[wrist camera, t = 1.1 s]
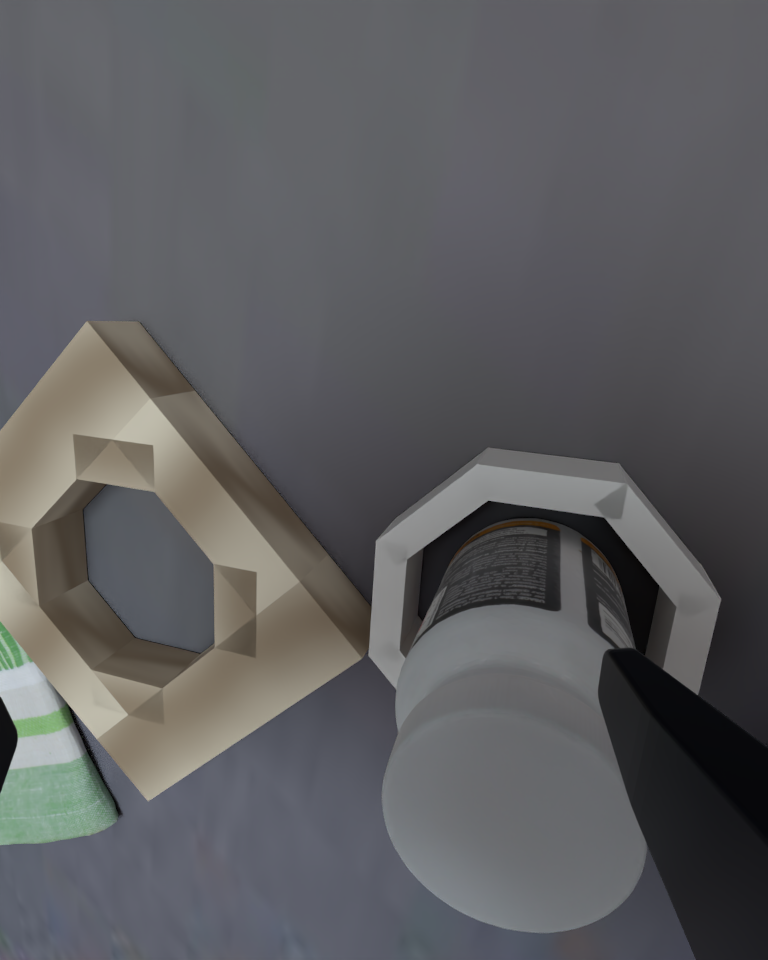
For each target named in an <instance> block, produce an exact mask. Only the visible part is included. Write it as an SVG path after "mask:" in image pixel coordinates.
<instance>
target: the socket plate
mask: <svg viewBox="0 0 768 960" xmlns="http://www.w3.org/2000/svg"><path fill="white" fill-rule="evenodd" d="M106 484H110V485H116V486H122V487H128V488H134V489H140V490H146V491H152V492H155V493H156V494H157V496H158V497H159V498H160V499H161V500H162V502H163V503H164V504H165V505H166V507H167V508H168V509H169V510H170V511H171V513H172V514H173V515H174V516H175V518H176V519H177V520H178V521H179V523H180V524H181V525H182V526H183V527H184V529H185V530H186V531H187V532H188V534H189V535H190V536H191V537H192V538H193V540H194V541H195V542H196V543H197V545H198V546H199V547H200V548H201V549H202V551H203V552H204V553H205V554H206V556H207V557H208V558H209V559H210V560H211V562H212V563H213V564H214V629H215V643H214V644H213V645H211V646H210V647H209V648H208V649H206V650H205V651H204V652H202V653H201V654H199V653H195V652H191V651H187V650H183V649H178V648H174V647H170V646H166V645H162V644H158V643H153V642H149V641H145V640H141V639H137V638H135V637H134V636H133V635H132V634H131V633H130V631H129V630H128V629H127V628H126V626H125V625H124V624H123V623H122V622H121V620H120V619H119V618H118V617H117V615H116V614H115V613H114V612H113V611H112V609H111V608H110V607H109V606H108V604H107V603H106V602H105V601H104V600H103V598H102V597H101V596H100V595H99V593H98V592H97V591H96V590H95V589H94V587H93V586H92V585H91V584H90V583H89V581H88V576H87V562H86V549H85V535H84V522H83V509H84V507H85V506H86V505H87V504H88V503H89V502H90V501H91V500H92V499H93V498H94V497H95V496H96V495H97V494H98V493H99V492H100V491H101V490H102V488H103V487H104V486H105V485H106ZM371 610H372V607H371V606H370V605H369V604H368V602H367V601H366V600H365V599H364V597H363V596H362V595H361V594H360V593H359V591H358V590H357V589H356V588H355V586H354V585H353V584H352V583H351V581H350V580H349V579H348V578H347V577H346V575H345V574H344V573H343V572H342V570H341V569H340V568H339V567H338V566H337V564H336V563H335V562H334V561H333V559H332V558H331V557H330V556H329V554H328V553H327V552H326V551H325V550H324V548H323V547H322V546H321V545H320V543H319V542H318V541H317V540H316V539H315V537H314V536H313V535H312V534H311V532H310V531H309V530H308V529H307V527H306V526H305V525H304V524H303V523H302V521H301V520H300V519H299V518H298V516H297V515H296V514H295V513H294V512H293V510H292V509H291V508H290V507H289V505H288V504H287V503H286V502H285V500H284V499H283V498H282V497H281V496H280V494H279V493H278V492H277V491H276V489H275V488H274V487H273V486H272V485H271V483H270V482H269V481H268V480H267V478H266V477H265V476H264V475H263V473H262V472H261V471H260V470H259V469H258V467H257V466H256V465H255V464H254V462H253V461H252V460H251V459H250V458H249V456H248V455H247V454H246V453H245V451H244V450H243V449H242V448H241V446H240V445H239V444H238V443H237V442H236V440H235V439H234V438H233V437H232V435H231V434H230V433H229V432H228V431H227V429H226V428H225V427H224V426H223V424H222V423H221V422H220V421H219V419H218V418H217V417H216V416H215V415H214V413H213V412H212V411H211V410H210V408H209V407H208V406H207V405H206V404H205V402H204V401H203V400H202V399H201V397H200V396H199V395H198V394H197V392H196V391H195V390H194V389H193V388H192V386H191V385H190V384H189V383H188V381H187V380H186V379H185V378H184V377H183V375H182V374H181V373H180V372H179V370H178V369H177V368H176V367H175V365H174V364H173V363H172V362H171V361H170V359H169V358H168V357H167V356H166V354H165V353H164V352H163V351H162V349H161V348H160V347H159V346H158V345H157V343H156V342H155V341H154V340H153V338H152V337H151V336H150V335H149V334H148V332H147V331H146V330H145V329H144V327H143V326H142V325H141V324H140V322H127V321H87V322H86V323H85V324H84V325H83V327H82V328H81V329H80V330H79V332H78V333H77V334H76V336H75V337H74V338H73V339H72V341H71V342H70V343H69V344H68V346H67V347H66V348H65V349H64V351H63V352H62V353H61V355H60V356H59V357H58V358H57V360H56V361H55V362H54V363H53V365H52V366H51V367H50V368H49V370H48V371H47V372H46V374H45V375H44V376H43V377H42V379H41V380H40V381H39V382H38V384H37V385H36V386H35V388H34V389H33V390H32V391H31V393H30V394H29V395H28V396H27V398H26V399H25V400H24V401H23V403H22V404H21V405H20V407H19V408H18V409H17V410H16V412H15V413H14V414H13V415H12V417H11V418H10V419H9V420H8V422H7V423H6V424H5V426H4V427H3V428H2V429H1V431H0V622H1V623H2V624H3V625H4V627H5V628H6V629H7V630H8V631H9V633H10V634H11V635H12V636H13V638H14V639H15V640H16V641H17V642H18V644H19V645H20V646H21V647H22V649H23V650H24V651H25V652H26V653H27V655H28V656H29V657H30V658H31V659H32V661H33V662H34V663H35V664H36V666H37V667H38V668H39V669H40V670H41V672H42V673H43V674H44V675H45V677H46V678H47V679H48V680H49V681H50V683H51V684H52V685H53V686H54V687H55V689H56V690H57V691H58V692H59V694H60V695H61V696H62V697H63V698H64V700H65V701H66V702H67V703H68V705H69V706H70V707H71V708H72V709H73V711H74V712H75V713H76V714H77V715H78V717H79V718H80V719H81V720H82V722H83V723H84V724H85V725H86V726H87V728H88V729H89V730H90V731H91V733H92V734H93V735H94V736H95V737H96V739H97V740H98V741H99V742H100V743H101V745H102V746H103V747H104V748H105V750H106V751H107V752H108V753H109V754H110V756H111V757H112V758H113V759H114V761H115V762H116V763H117V764H118V765H119V767H120V768H121V769H122V770H123V771H124V773H125V774H126V775H127V776H128V778H129V779H130V780H131V781H132V782H133V784H134V785H135V786H136V787H137V788H138V790H139V791H140V792H141V793H142V795H143V796H144V797H145V798H146V799H147V801H149V800H151V799H152V798H154V797H155V796H157V795H158V794H160V793H161V792H163V791H164V790H166V789H167V788H169V787H170V786H172V785H173V784H175V783H176V782H178V781H179V780H181V779H182V778H184V777H185V776H187V775H188V774H190V773H191V772H193V771H194V770H196V769H197V768H199V767H200V766H202V765H203V764H205V763H206V762H208V761H209V760H211V759H212V758H214V757H215V756H217V755H218V754H220V753H221V752H223V751H224V750H226V749H227V748H229V747H230V746H232V745H233V744H235V743H236V742H238V741H239V740H241V739H242V738H244V737H245V736H247V735H248V734H250V733H251V732H253V731H254V730H256V729H257V728H259V727H260V726H262V725H263V724H265V723H266V722H268V721H269V720H271V719H272V718H274V717H275V716H277V715H278V714H280V713H281V712H283V711H284V710H286V709H287V708H289V707H290V706H292V705H293V704H295V703H296V702H298V701H299V700H301V699H302V698H304V697H305V696H307V695H308V694H310V693H311V692H313V691H314V690H316V689H317V688H319V687H320V686H322V685H323V684H325V683H326V682H328V681H329V680H331V679H332V678H334V677H335V676H337V675H338V674H340V673H341V672H343V671H344V670H346V669H347V668H349V667H350V666H352V665H353V664H355V663H356V662H358V661H359V660H361V659H362V658H363V657H364V655H365V653H366V652H367V650H368V648H369V640H370V625H371Z"/></svg>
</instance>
